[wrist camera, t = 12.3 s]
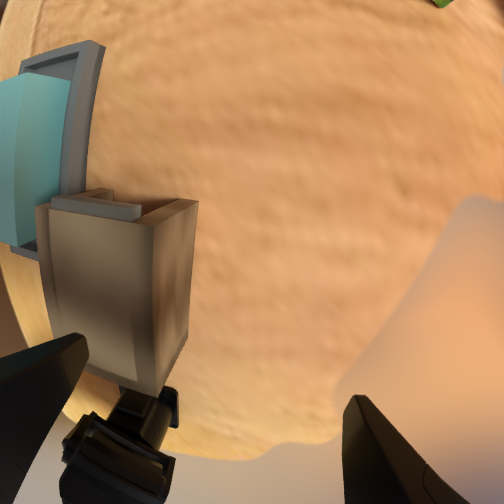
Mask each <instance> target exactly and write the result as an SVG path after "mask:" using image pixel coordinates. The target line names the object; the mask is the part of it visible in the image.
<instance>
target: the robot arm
mask: <svg viewBox="0 0 504 504" xmlns="http://www.w3.org/2000/svg"><path fill="white" fill-rule="evenodd" d="M88 359H89V349H88V345H87V340H86V337H85V336H84V335H82V334H80V333H77V332H73V333H71V334H68V335H65V336H62V337H59V338H57V339H54V340H51V341H48V342H45V343H42V344H40V345H37V346H34V347H31V348H28V349H25V350H22V351H19V352H16V353H14V354H11V355H8V356H5V357H2V358H0V504H13V502H14V499H15V497H16V495H17V493H18V491H19V489H20V487H21V484H22V482H23V480H24V478H25V476H26V473H27V472H28V470H29V468H30V466H31V464H32V462H33V460H34V458H35V456H36V455H37V453H38V451H39V449H40V447H41V445H42V443H43V441H44V440H45V438H46V436H47V434H48V433H49V431H50V429H51V427H52V426H53V424H54V422H55V420H56V419H57V417H58V415H59V413H60V412H61V410H62V409H63V407H64V405H65V404H66V402H67V400H68V399H69V397H70V395H71V394H72V392H73V390H74V388H75V386H76V384H77V382H78V380H79V378H80V376H81V374H82V371H83V369H84V367H85V365H86V363H87V361H88ZM119 389H120V394H121V396H120V398H119V400H118V401H117V403H116V404H115V406H114V408H113V409H112V411H111V413H110V414H109V416H108V417H107V419H106V420H104V419H103V418H101V417H100V416H98V415H97V413H95V412H94V411H92V412H91V414H90V415H86V414H84V415H83V416H82V418H81V419H80V421H79V422H78V423H77V425H76V426H75V427H74V428H73V429H72V430H71V432H70V433H69V434H68V435H67V436H66V437H65V438H64V439H63V441H62V445H63V449H64V451H63V457H62V460H61V461H62V462H64V463H65V464H67V466H66V468H65V470H64V472H63V474H62V476H61V477H60V480H59V490H60V497H61V498H62V503H63V504H164V503H165V501H166V498H167V496H168V494H169V490H170V486H171V481H172V475H173V471H174V465H175V460H176V458H174V457H172V456H167V455H166V454H164V453H162V452H160V451H159V449H160V447H161V444H162V442H163V439H164V437H165V434H166V432H167V429H168V427H171V428H175V429H176V428H178V426H179V405H178V392H177V391H176V390H174V389H170V388H167V387H163V388H162V390H161V392H160V394H159V396H158V398H156V397H153V396H150V395H147V394H144V393H141V392H138V391H135V390H132V389H129V388H126V387H124V386H121V385H119ZM90 436H91V437H90ZM342 466H343V481H344V498H345V504H470V503H469V502H468V501H467V500H465V499H464V498H463V497H462V496H460V494H458V493H457V492H456V491H455V490H454V489H452V488H451V487H450V486H449V485H448V484H447V483H446V482H444V480H442V478H440V476H439V475H438V474H436V472H435V471H434V470H433V469H432V468H431V467H430V466H429V465H428V464H426V461H425V460H424V459H423V458H422V457H421V456H420V455H419V454H418V453H417V452H416V451H415V450H414V448H413V447H412V446H411V445H410V444H409V443H408V442H407V441H406V439H405V438H404V437H403V436H402V435H401V434H400V433H399V432H398V431H397V429H396V428H395V427H394V426H393V425H392V424H391V423H390V422H389V420H388V419H387V418H386V417H385V416H384V415H383V414H382V413H381V412H380V411H379V409H378V408H377V407H376V406H375V405H374V404H373V403H372V401H371V400H370V399H369V398H368V397H367V396H366V395H353V396H352V398H351V399H350V401H349V403H348V405H347V406H346V408H345V410H344V413H343V433H342Z"/></svg>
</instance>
